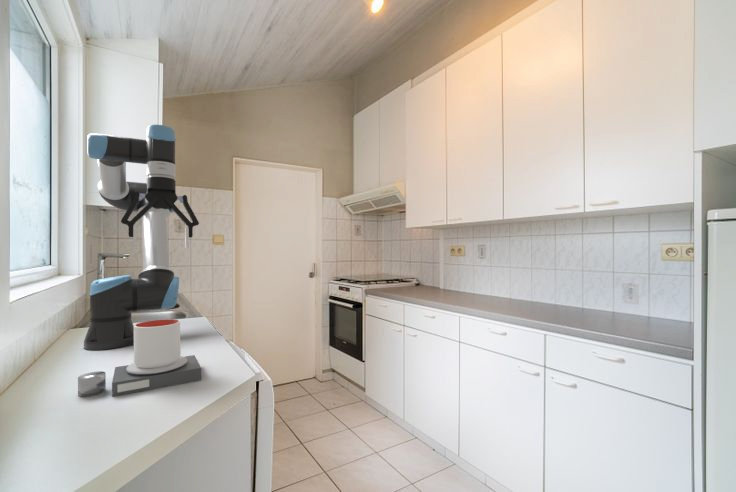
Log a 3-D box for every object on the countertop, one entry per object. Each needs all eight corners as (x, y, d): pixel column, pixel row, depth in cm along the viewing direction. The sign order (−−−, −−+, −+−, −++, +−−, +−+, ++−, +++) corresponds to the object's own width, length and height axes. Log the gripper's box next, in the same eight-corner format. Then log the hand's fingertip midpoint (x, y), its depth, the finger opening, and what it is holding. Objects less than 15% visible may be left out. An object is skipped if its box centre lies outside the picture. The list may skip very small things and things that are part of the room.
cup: (188, 357, 94) (188, 319, 95) (163, 370, 84) (163, 327, 85) (152, 357, 95) (152, 319, 96) (123, 369, 85) (123, 327, 86)
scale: (115, 379, 91) (115, 363, 91) (194, 365, 100) (194, 351, 100) (111, 397, 79) (111, 378, 79) (201, 380, 89) (201, 364, 89)
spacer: (79, 391, 83) (79, 374, 83) (106, 387, 86) (106, 370, 86) (76, 399, 79) (76, 380, 79) (104, 393, 81) (104, 376, 81)
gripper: (109, 171, 99) (110, 248, 99) (208, 179, 113) (208, 247, 113) (111, 176, 106) (111, 248, 106) (204, 183, 119) (204, 248, 119)
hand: (161, 248), depth 109 cm, fingers open, 13 cm apart
